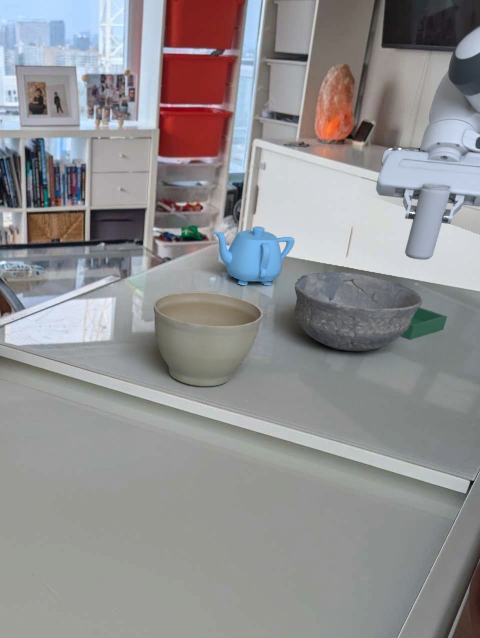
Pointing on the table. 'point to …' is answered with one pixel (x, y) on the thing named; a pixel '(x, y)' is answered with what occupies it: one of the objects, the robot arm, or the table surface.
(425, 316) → the green tray
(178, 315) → the planter bowl
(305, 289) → the bowl
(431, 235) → the beverage can
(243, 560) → the table surface
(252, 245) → the teapot
